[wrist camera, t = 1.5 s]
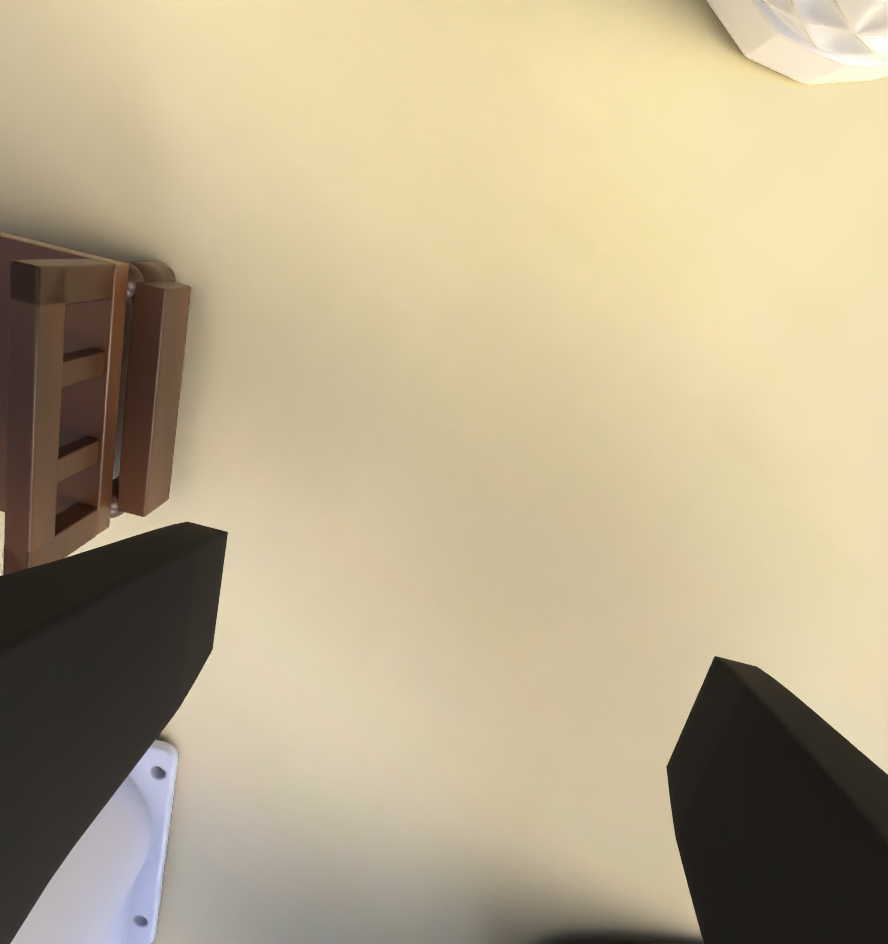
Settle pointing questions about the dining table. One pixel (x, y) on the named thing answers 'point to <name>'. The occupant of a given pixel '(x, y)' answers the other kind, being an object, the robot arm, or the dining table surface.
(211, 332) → the dining table surface
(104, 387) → the chair
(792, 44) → the white cup
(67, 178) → the dining table surface
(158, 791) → the robot arm
